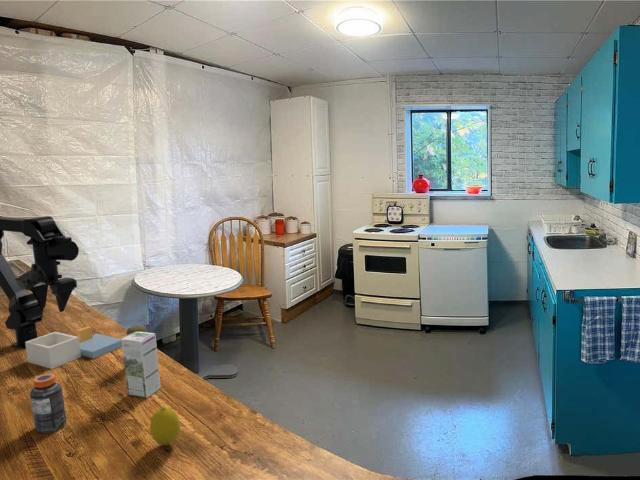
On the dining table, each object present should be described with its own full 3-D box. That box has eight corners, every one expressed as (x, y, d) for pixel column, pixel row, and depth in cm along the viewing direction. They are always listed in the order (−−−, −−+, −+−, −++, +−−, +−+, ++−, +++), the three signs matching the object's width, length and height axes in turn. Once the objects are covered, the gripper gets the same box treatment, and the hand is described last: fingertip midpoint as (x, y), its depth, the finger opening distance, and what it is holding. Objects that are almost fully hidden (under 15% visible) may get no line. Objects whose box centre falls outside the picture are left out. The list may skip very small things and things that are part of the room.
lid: (67, 351, 148) (64, 333, 147) (97, 339, 157) (95, 322, 156) (93, 358, 142) (91, 340, 141) (123, 345, 151) (121, 328, 150)
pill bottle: (59, 416, 110) (53, 368, 108) (71, 424, 106) (65, 375, 104) (30, 428, 106) (23, 378, 104) (42, 437, 102) (35, 386, 100)
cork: (144, 369, 133) (140, 330, 131) (123, 368, 134) (119, 330, 132) (155, 360, 139) (152, 323, 137) (136, 359, 140) (132, 322, 138)
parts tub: (27, 362, 141) (25, 342, 140) (57, 350, 149) (55, 331, 148) (51, 368, 136) (48, 348, 135) (81, 356, 143) (78, 337, 142)
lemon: (156, 438, 100) (152, 401, 99) (183, 435, 101) (180, 399, 99) (149, 454, 95) (145, 415, 93) (178, 451, 95) (175, 413, 94)
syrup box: (161, 387, 122) (156, 331, 120) (146, 399, 117) (140, 340, 114) (142, 385, 124) (137, 329, 121) (126, 396, 118) (120, 338, 116)
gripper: (-1, 262, 144) (7, 313, 147) (37, 267, 135) (45, 322, 138) (36, 255, 154) (43, 303, 156) (75, 259, 145) (81, 310, 147)
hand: (52, 309), depth 149 cm, fingers open, 9 cm apart
